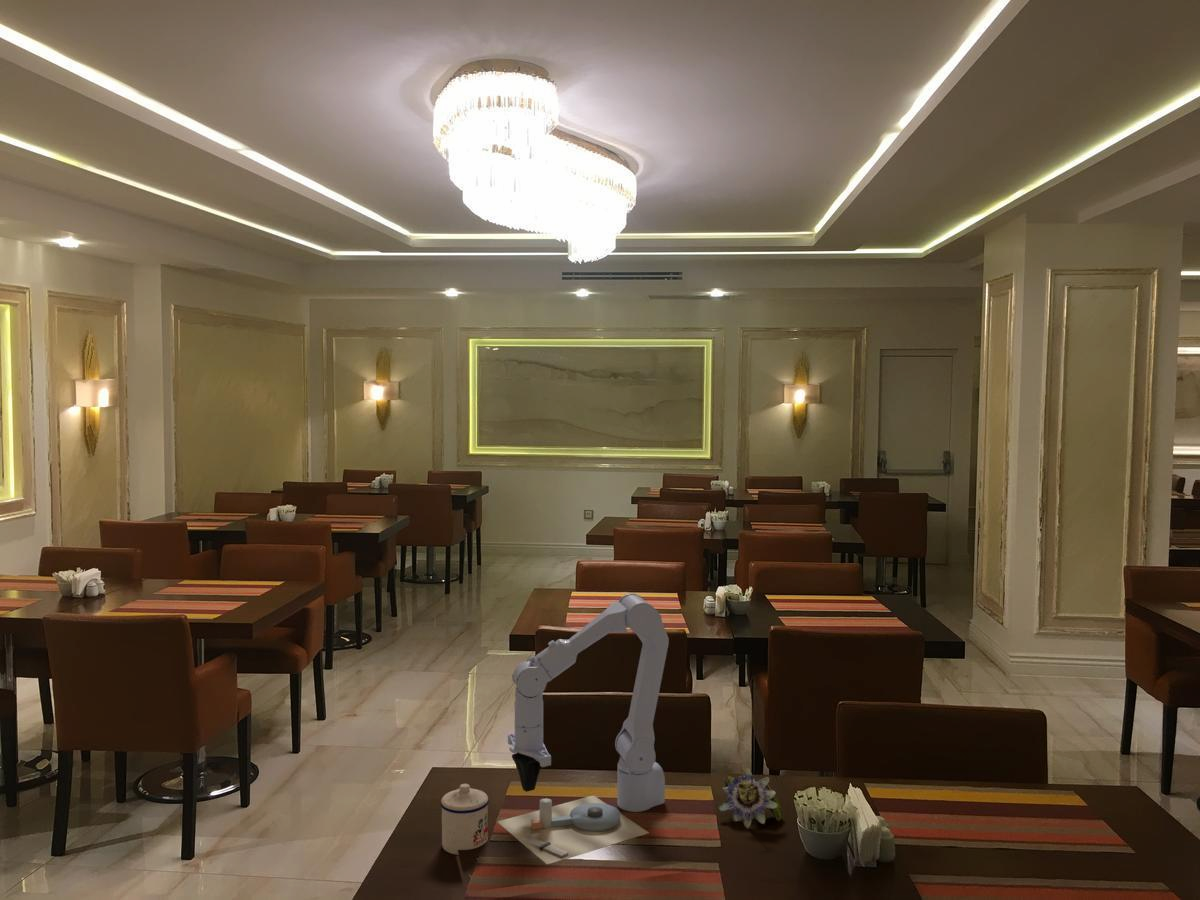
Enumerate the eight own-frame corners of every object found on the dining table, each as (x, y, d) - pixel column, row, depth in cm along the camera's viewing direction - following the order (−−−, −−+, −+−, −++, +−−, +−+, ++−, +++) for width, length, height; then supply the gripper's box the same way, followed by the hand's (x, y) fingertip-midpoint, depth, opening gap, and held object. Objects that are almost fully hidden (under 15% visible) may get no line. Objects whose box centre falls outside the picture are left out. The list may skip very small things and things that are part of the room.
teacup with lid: (482, 858, 176) (482, 796, 175) (434, 855, 177) (434, 794, 176) (497, 828, 188) (496, 770, 187) (452, 825, 189) (451, 768, 188)
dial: (612, 806, 195) (612, 782, 195) (626, 828, 185) (626, 803, 185) (527, 816, 190) (527, 792, 190) (537, 839, 181) (537, 813, 180)
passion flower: (746, 854, 189) (713, 810, 186) (739, 819, 199) (707, 778, 197) (795, 826, 187) (762, 782, 185) (784, 792, 198) (753, 750, 195)
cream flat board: (593, 800, 200) (593, 792, 200) (649, 838, 184) (649, 829, 184) (497, 827, 188) (496, 818, 188) (547, 870, 171) (547, 861, 171)
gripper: (494, 716, 194) (494, 781, 195) (528, 738, 182) (528, 807, 183) (525, 709, 198) (525, 773, 199) (560, 731, 186) (560, 799, 187)
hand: (528, 789), depth 191 cm, fingers closed
